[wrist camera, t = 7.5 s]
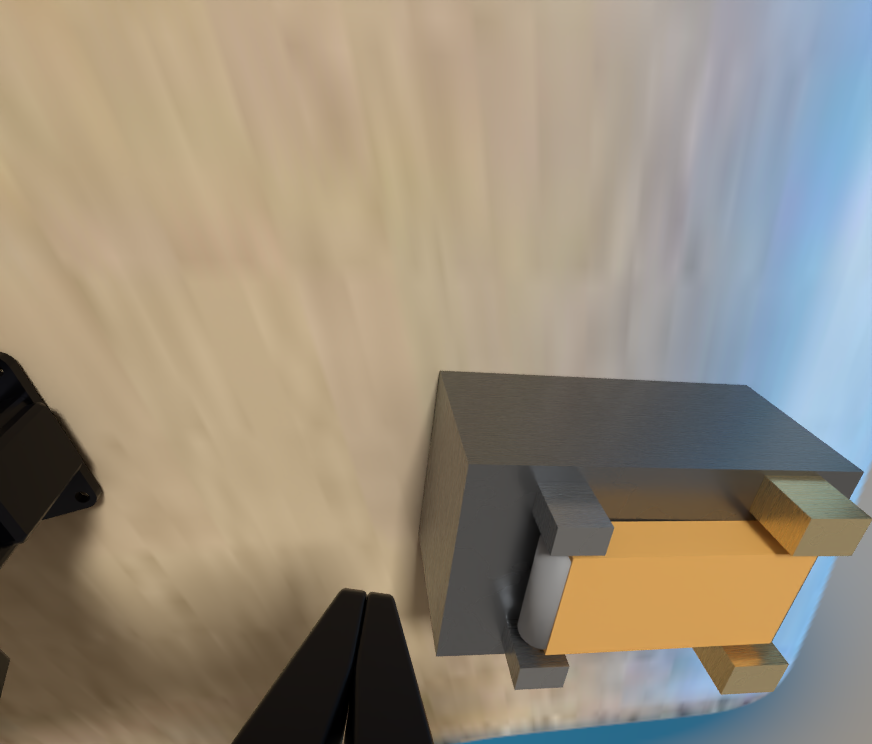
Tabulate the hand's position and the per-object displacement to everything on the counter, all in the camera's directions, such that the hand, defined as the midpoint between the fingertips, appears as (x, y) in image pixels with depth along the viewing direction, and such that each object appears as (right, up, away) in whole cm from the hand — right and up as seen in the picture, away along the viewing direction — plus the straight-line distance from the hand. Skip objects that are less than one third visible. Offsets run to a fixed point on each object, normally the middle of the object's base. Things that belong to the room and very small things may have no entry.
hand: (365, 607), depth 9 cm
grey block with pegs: (+7, 0, +15) cm, 16 cm away
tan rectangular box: (+8, -3, +9) cm, 13 cm away
